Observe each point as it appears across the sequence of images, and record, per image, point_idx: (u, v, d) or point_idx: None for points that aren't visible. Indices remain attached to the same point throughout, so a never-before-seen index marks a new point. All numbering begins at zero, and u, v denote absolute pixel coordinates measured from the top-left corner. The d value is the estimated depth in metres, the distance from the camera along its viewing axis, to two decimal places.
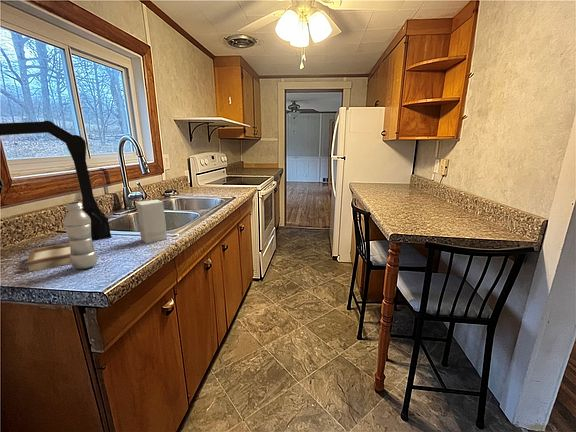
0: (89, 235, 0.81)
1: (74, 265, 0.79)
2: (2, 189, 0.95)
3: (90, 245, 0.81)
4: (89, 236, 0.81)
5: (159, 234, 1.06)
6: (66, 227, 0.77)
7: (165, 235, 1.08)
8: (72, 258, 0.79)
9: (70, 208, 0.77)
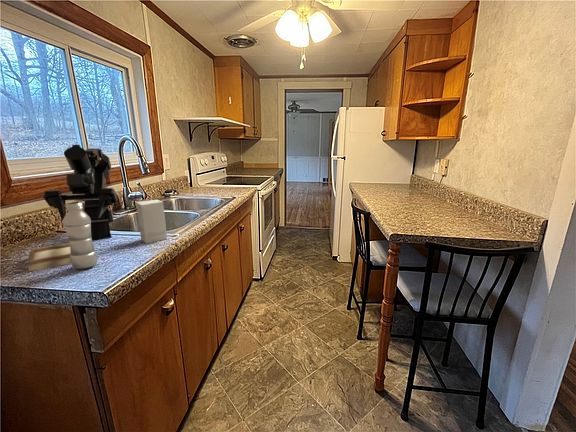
0: (89, 235, 0.81)
1: (74, 265, 0.79)
2: None
3: (90, 245, 0.81)
4: (89, 236, 0.81)
5: (159, 234, 1.06)
6: (66, 227, 0.77)
7: (165, 235, 1.08)
8: (72, 258, 0.79)
9: (70, 208, 0.77)
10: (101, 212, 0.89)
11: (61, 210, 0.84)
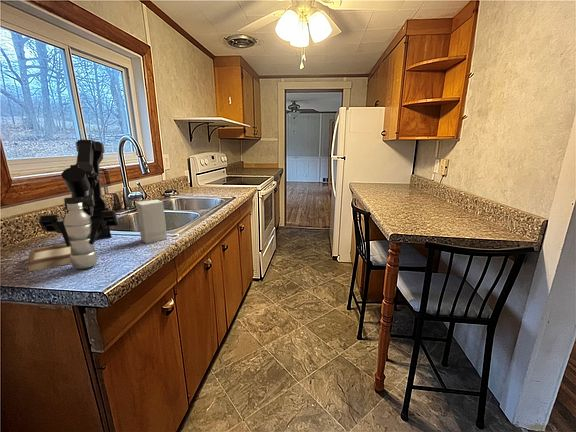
0: (89, 235, 0.81)
1: (74, 265, 0.79)
2: None
3: (90, 245, 0.81)
4: (89, 236, 0.81)
5: (159, 234, 1.06)
6: (66, 227, 0.77)
7: (165, 235, 1.08)
8: (72, 258, 0.79)
9: (71, 208, 0.77)
10: (95, 237, 0.82)
11: (66, 235, 0.79)
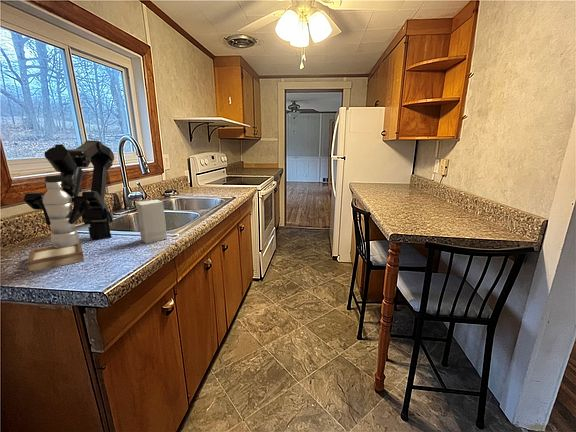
0: (68, 215, 0.81)
1: (53, 243, 0.80)
2: None
3: (70, 224, 0.81)
4: (69, 216, 0.81)
5: (159, 234, 1.06)
6: (45, 205, 0.77)
7: (165, 235, 1.08)
8: (52, 236, 0.80)
9: (48, 186, 0.77)
10: (75, 217, 0.82)
11: (47, 214, 0.80)
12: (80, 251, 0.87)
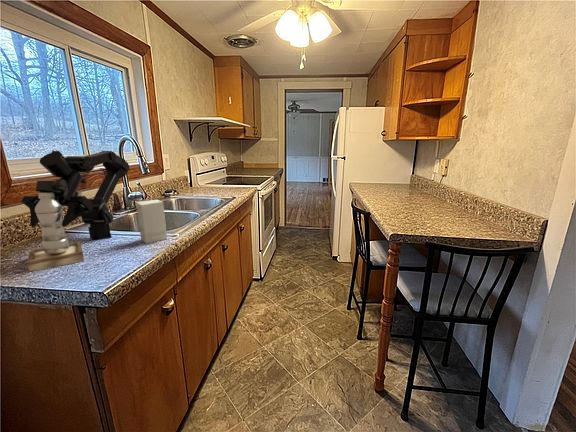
0: (58, 223, 0.85)
1: (43, 249, 0.85)
2: None
3: (59, 232, 0.86)
4: (58, 224, 0.85)
5: (159, 234, 1.06)
6: (36, 214, 0.83)
7: (165, 235, 1.08)
8: (42, 243, 0.85)
9: (40, 196, 0.82)
10: (68, 220, 0.86)
11: (32, 216, 0.85)
12: (80, 251, 0.87)
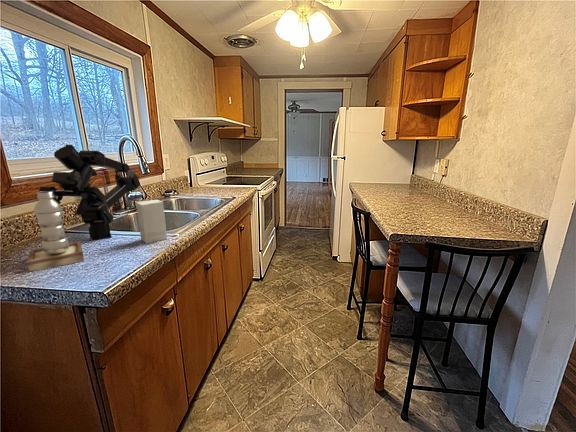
0: (57, 223, 0.85)
1: (43, 250, 0.85)
2: None
3: (58, 233, 0.86)
4: (57, 224, 0.85)
5: (159, 234, 1.06)
6: (35, 214, 0.83)
7: (165, 235, 1.08)
8: (42, 243, 0.85)
9: (39, 197, 0.82)
10: (81, 209, 0.92)
11: None
12: (80, 251, 0.87)
